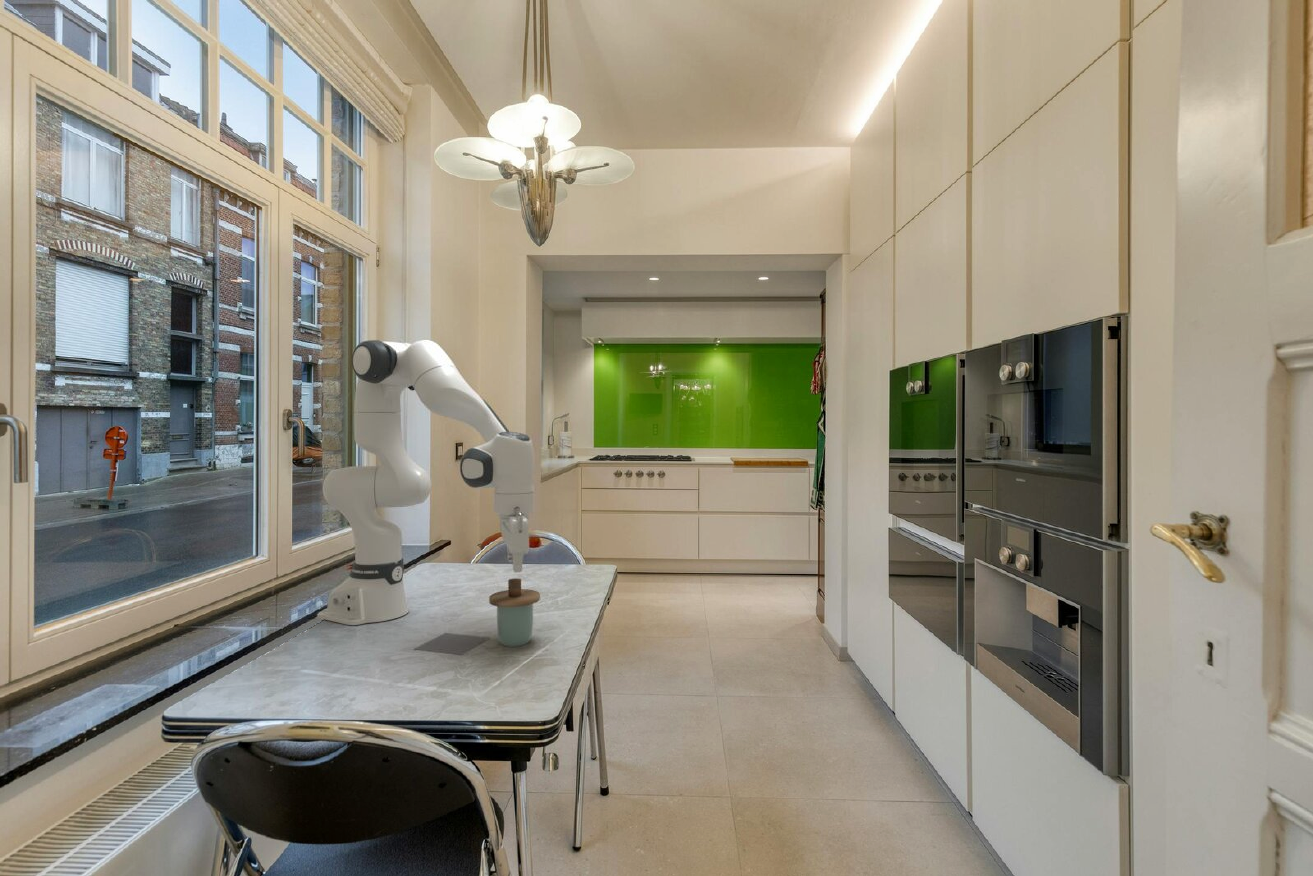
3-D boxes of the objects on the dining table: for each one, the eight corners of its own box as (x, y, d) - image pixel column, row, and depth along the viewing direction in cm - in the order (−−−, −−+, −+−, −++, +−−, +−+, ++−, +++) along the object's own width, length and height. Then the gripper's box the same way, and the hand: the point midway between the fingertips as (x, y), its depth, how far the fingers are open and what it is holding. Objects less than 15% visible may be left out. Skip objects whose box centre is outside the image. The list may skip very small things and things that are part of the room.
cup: (537, 639, 135) (537, 595, 135) (526, 651, 127) (526, 605, 127) (504, 638, 136) (504, 595, 136) (491, 650, 128) (491, 604, 128)
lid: (478, 604, 129) (478, 583, 129) (510, 591, 139) (509, 572, 139) (520, 609, 124) (520, 588, 124) (549, 596, 134) (549, 576, 134)
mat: (413, 652, 127) (413, 649, 127) (445, 635, 138) (445, 632, 138) (461, 657, 124) (461, 654, 124) (490, 640, 134) (490, 637, 134)
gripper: (536, 510, 123) (536, 576, 123) (522, 498, 142) (522, 555, 142) (505, 512, 121) (505, 579, 121) (495, 499, 140) (495, 557, 140)
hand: (514, 566), depth 132 cm, fingers open, 8 cm apart
